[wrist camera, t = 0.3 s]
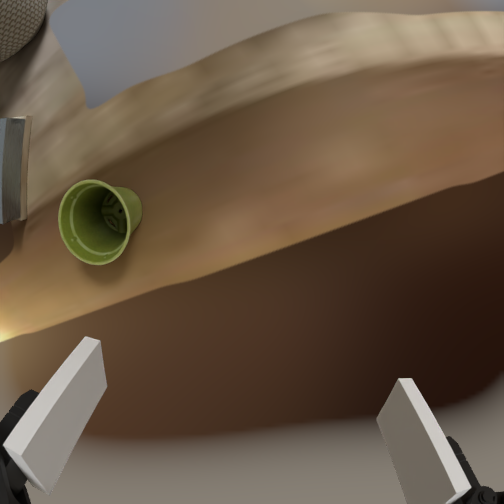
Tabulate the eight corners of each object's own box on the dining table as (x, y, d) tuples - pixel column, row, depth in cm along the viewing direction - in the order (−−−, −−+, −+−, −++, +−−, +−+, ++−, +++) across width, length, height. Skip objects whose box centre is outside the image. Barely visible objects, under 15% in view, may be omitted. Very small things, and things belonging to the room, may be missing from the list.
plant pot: (119, 159, 36) (85, 161, 27) (169, 207, 37) (146, 221, 29) (82, 212, 38) (46, 226, 29) (128, 257, 39) (100, 281, 31)
